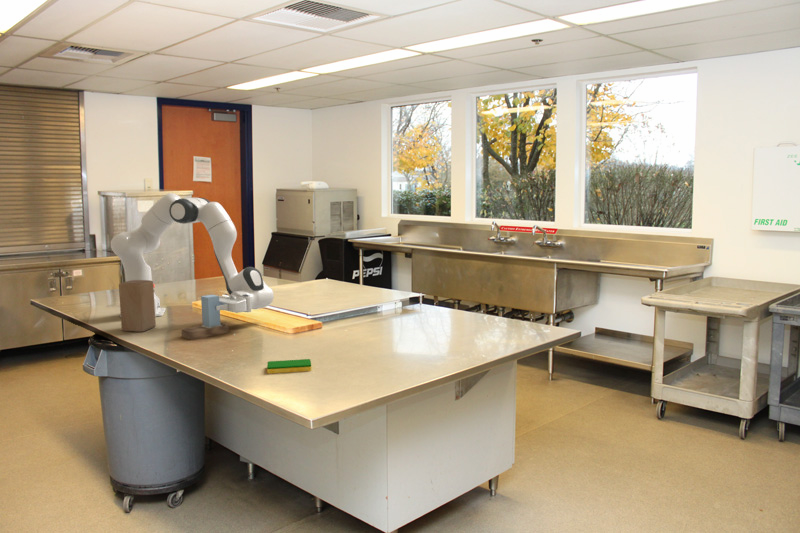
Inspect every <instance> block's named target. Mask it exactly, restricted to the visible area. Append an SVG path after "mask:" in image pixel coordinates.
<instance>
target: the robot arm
mask: <svg viewBox="0 0 800 533" xmlns="http://www.w3.org/2000/svg"><path fill="white" fill-rule="evenodd" d="M140 220H141V224H140V226H139V227H138V228H136V229H135V230H129V231H122V232H120V233H118V234H116V235H114V236H113V237H112V238H111V241H110V248H111V251H112V252H113V253H114V255H116V256H117V257H118V258H119V260H120V262H121V264H122V267H123V271H124V278H125V279H124V280H125V281H124V282H127V281H131V280H151V281H153V277H152V275H153V274H152V268H151V266H150V265H149V264H147V262H146V261H145V258H144V254H150V253H152V252H154V251H156V250H157V249H158V248H159V247H160V245H161V237H162V236H163V235H164V233H165V232H166V231H167V230H168V229H169V228H170V226H172V225H173V224H174V223H175V222H176V223H179V224H195V223H200V222H201V223H202V224H203V226H204V227H205V230H206V232H207V233H208V234H209V238H210V239H211V243H212V246H213V253H214V256H215V259H216V260H217V264H218V266H219V268H220V271H221V273H222V276H223V278H224V282H225V288H226V291H227V293H228V294H229V296H225V295H224V296H223V295H218V296H219V304H220V305H217V306H215V310H217V311H219V310H220V311H227V312H230V313H235V314H238V313H239V314H240V313H251V312H252V310H259V309H262V308H266V307H268V306H270V305H271V304H272V303H273V300H274V296H275V293H274V291H273V289H272V288H271V287H270V286H268V284H266V282H265V281H264V278H263V275H262V273H261V271H260V270H259V269H257V268H255V267H253V266H246V267H245V268H244V269H242V270H241V271H239V272H238V271H237V268H236V266H235V263H234V261H233V258H232V251H233V247H234V245H235V242H236V240H237V237H238V232H237V229H236V225H235V224H234V222H233V221H232V219H231V217H230V215H229V213H227V211H226V210H225V208H224V207H223V205H222V204H220V202H217V201H211V200H209V199H207V198H205V197H194V196H193V197H192V196H191V197H184V198H183V197H182V198H181V197H180V195H179V194H176V193H173V192H170V193H169V192H168V193H167V194H165V195H163V197H161V198H159V200H157V201H156V202H155V203H154V204H153V205H152V206H151V207H150V208H149V210H147V212H145V214H144V215H143V216H142V217H141V219H140ZM155 287H156V284H155V283H153V289H154V290H155ZM160 300H161V299H160V298H159V296H157V295H156V293H155V292H154V305H155V318H156V317H162V316H163V315H164V314H165V311H166V307H161V302H160ZM119 317H120V318H121V313H120V314H119Z"/></svg>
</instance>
